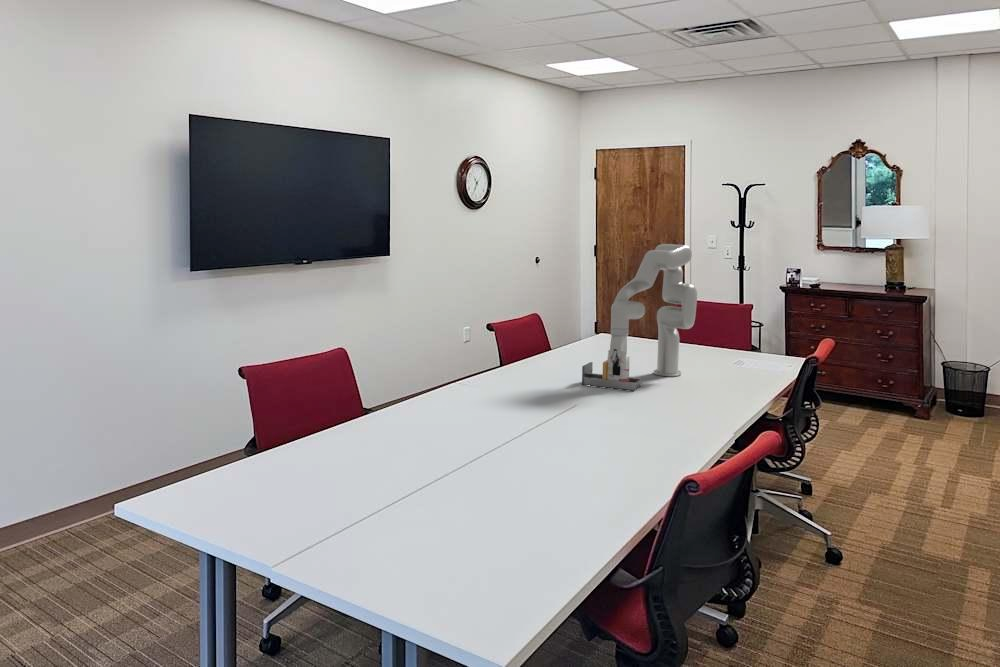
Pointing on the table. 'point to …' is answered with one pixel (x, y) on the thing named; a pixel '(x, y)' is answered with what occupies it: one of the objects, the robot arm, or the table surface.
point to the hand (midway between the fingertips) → (618, 373)
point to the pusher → (605, 370)
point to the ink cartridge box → (623, 369)
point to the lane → (597, 380)
